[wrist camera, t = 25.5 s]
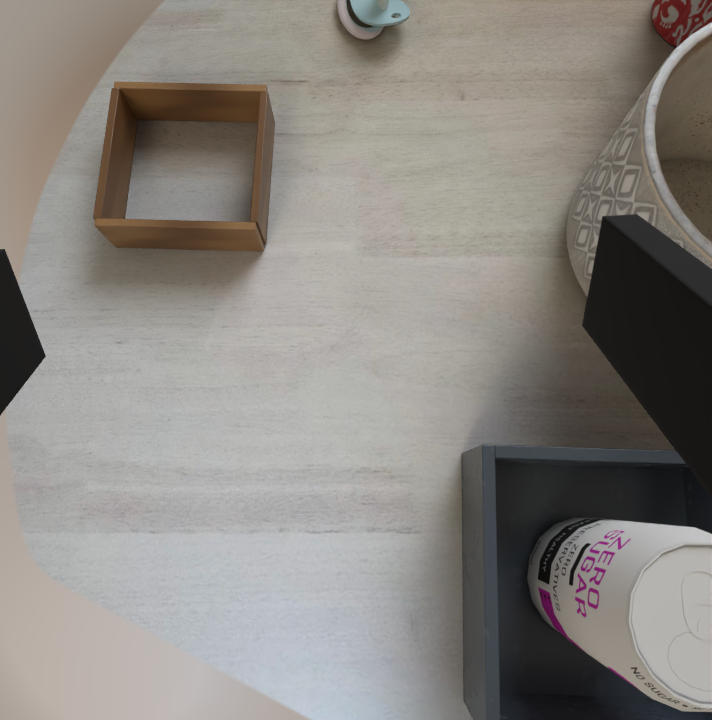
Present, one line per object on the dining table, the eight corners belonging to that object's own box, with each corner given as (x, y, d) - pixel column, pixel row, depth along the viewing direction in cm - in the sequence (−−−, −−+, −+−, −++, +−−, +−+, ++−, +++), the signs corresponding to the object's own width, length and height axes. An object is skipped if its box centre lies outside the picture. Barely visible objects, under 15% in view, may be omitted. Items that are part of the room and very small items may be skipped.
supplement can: (648, 642, 40) (814, 726, 25) (527, 639, 40) (622, 722, 25) (638, 518, 42) (787, 530, 27) (521, 516, 42) (607, 527, 27)
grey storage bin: (463, 700, 40) (486, 747, 32) (461, 453, 44) (482, 444, 36) (711, 710, 40) (791, 759, 32) (687, 460, 43) (755, 453, 36)
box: (113, 247, 48) (91, 225, 44) (131, 113, 50) (112, 81, 46) (265, 251, 47) (257, 229, 43) (275, 116, 50) (268, 84, 46)
